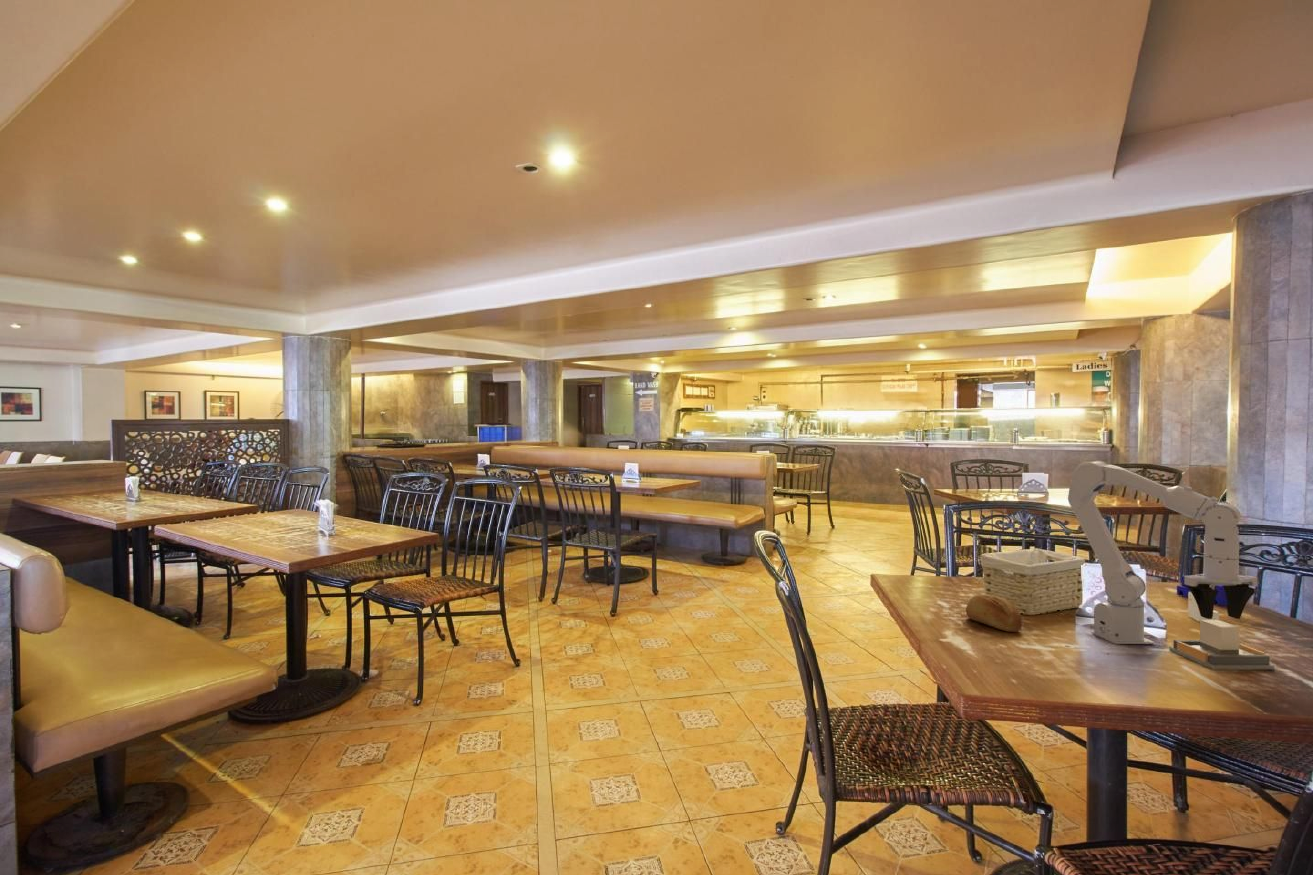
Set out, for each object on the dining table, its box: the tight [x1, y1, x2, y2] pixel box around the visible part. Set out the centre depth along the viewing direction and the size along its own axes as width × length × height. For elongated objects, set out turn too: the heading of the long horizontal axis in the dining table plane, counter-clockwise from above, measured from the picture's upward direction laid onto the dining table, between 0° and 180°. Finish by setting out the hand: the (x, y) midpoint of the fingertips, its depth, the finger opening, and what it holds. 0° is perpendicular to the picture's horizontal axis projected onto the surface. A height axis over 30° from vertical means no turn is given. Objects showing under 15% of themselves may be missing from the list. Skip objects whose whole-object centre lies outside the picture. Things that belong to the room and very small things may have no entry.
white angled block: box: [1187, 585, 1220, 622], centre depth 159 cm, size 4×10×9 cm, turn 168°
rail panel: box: [1169, 639, 1275, 670], centre depth 133 cm, size 13×11×3 cm
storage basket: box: [980, 547, 1086, 616], centre depth 174 cm, size 24×16×15 cm
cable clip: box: [1176, 575, 1227, 607], centre depth 178 cm, size 12×4×6 cm, turn 2°
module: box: [1199, 619, 1240, 654], centre depth 133 cm, size 4×5×6 cm
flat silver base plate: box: [1190, 645, 1255, 660], centre depth 133 cm, size 11×6×1 cm, turn 90°
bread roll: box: [965, 593, 1023, 633], centre depth 156 cm, size 10×15×8 cm, turn 20°
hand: (1220, 617), depth 133 cm, fingers open, 6 cm apart
